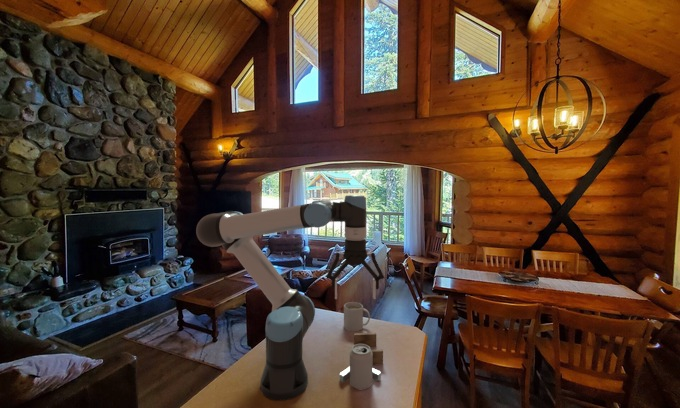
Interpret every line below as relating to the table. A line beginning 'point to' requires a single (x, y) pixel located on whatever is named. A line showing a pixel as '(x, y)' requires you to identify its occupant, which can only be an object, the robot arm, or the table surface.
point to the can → (361, 366)
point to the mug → (354, 316)
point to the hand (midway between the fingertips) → (355, 297)
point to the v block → (346, 375)
